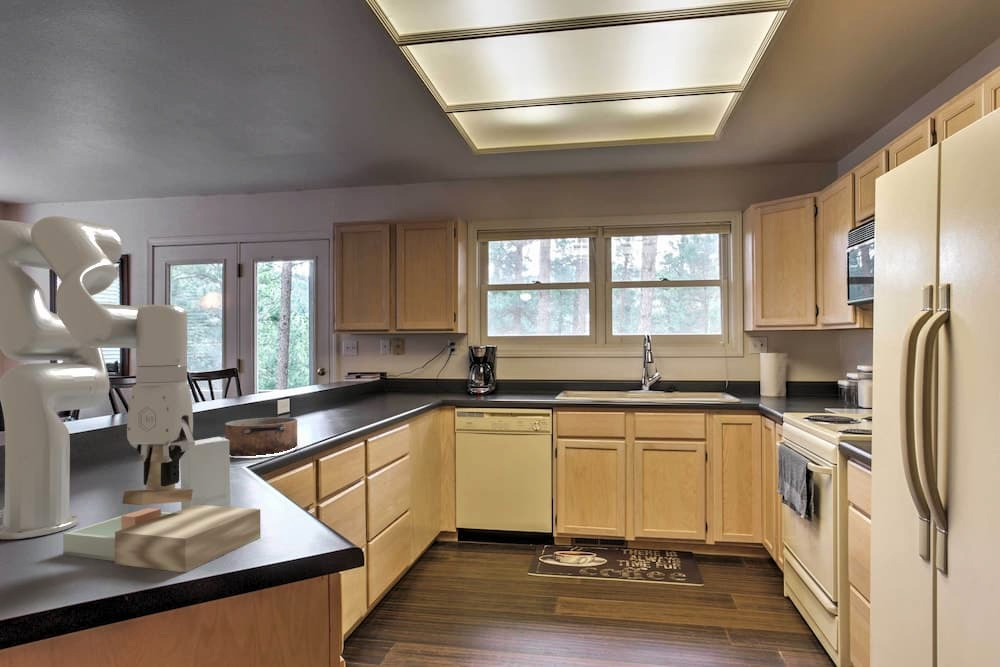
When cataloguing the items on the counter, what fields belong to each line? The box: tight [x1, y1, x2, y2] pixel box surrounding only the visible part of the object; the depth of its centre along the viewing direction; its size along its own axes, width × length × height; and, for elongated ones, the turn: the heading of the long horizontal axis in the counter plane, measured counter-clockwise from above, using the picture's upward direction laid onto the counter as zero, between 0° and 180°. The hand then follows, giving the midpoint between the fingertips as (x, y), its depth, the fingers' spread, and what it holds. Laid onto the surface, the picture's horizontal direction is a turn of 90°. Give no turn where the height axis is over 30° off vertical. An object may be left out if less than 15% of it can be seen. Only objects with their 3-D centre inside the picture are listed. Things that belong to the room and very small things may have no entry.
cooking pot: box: [224, 417, 298, 456], centre depth 186 cm, size 30×22×11 cm
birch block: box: [114, 505, 261, 573], centre depth 93 cm, size 14×16×5 cm
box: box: [62, 511, 172, 562], centre depth 96 cm, size 12×14×4 cm
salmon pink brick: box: [120, 507, 162, 530], centre depth 95 cm, size 5×5×3 cm
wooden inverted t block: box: [121, 441, 193, 506], centre depth 95 cm, size 4×10×11 cm, turn 163°
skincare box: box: [179, 436, 232, 510], centre depth 117 cm, size 8×6×15 cm
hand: (161, 482), depth 95 cm, fingers closed on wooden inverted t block, 3 cm apart
